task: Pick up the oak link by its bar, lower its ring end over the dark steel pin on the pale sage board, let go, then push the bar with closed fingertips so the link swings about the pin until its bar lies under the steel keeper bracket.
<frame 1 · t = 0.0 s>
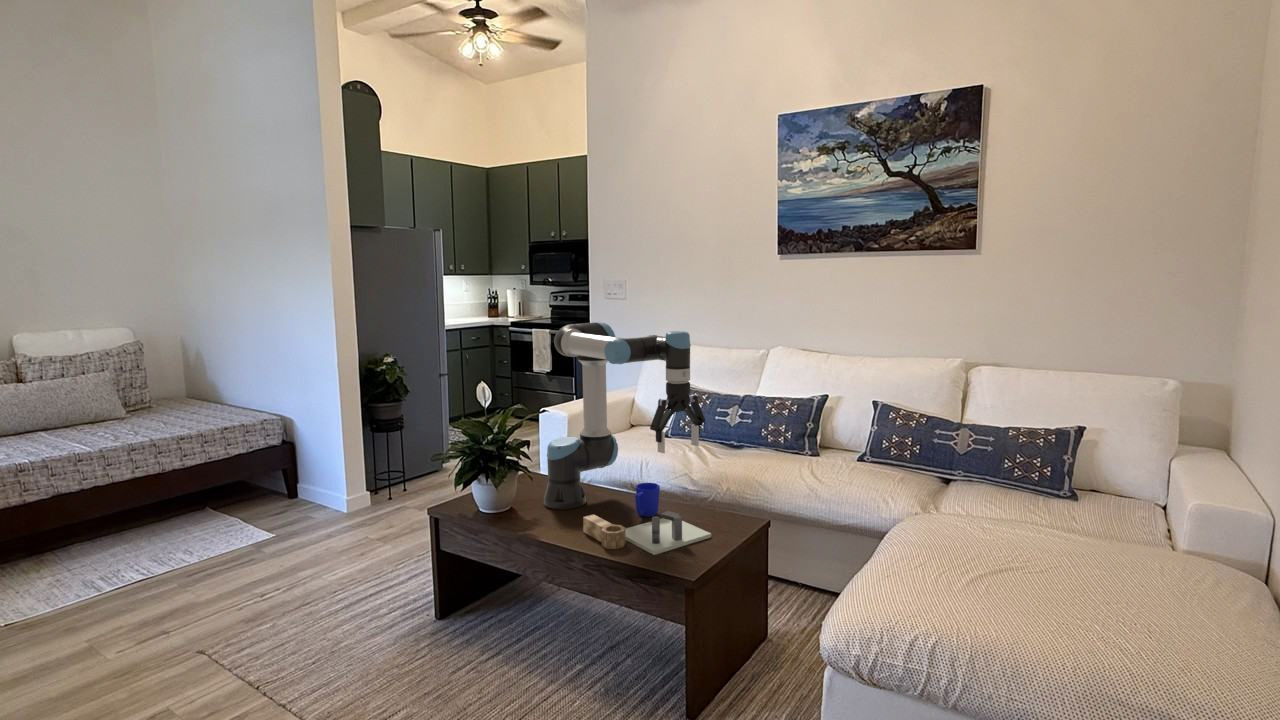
hand: (678, 448, 217), 28 cm above the table, fingers open, 13 cm apart
board: (656, 546, 211), on the table
mug: (645, 516, 238), on the table
link: (597, 535, 220), on the table
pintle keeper: (656, 546, 211), resting on board
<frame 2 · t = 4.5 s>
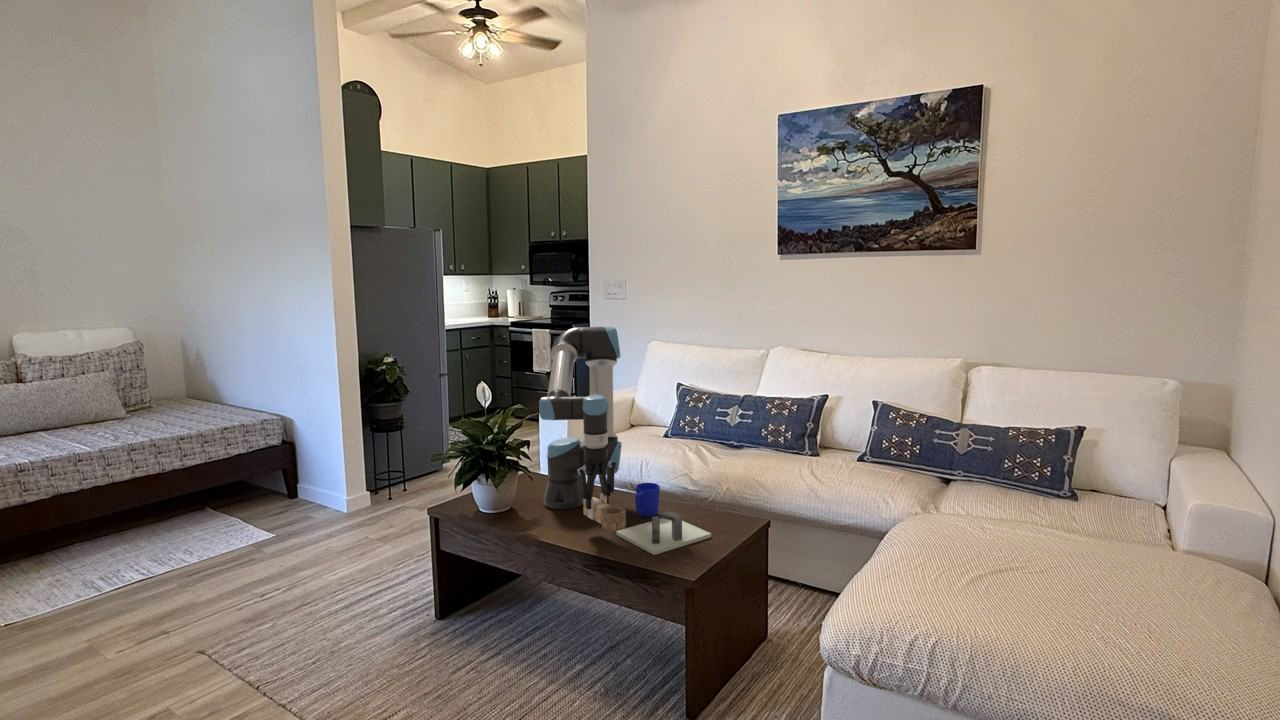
hand: (597, 516, 220), 6 cm above the table, fingers closed on link, 4 cm apart
link: (598, 517, 220), point 6 cm above the table, touching gripper
everything else where it was.
when the fingers open (2 cm above the table, at t = 7.8 s): link stays where it is, resting on board.
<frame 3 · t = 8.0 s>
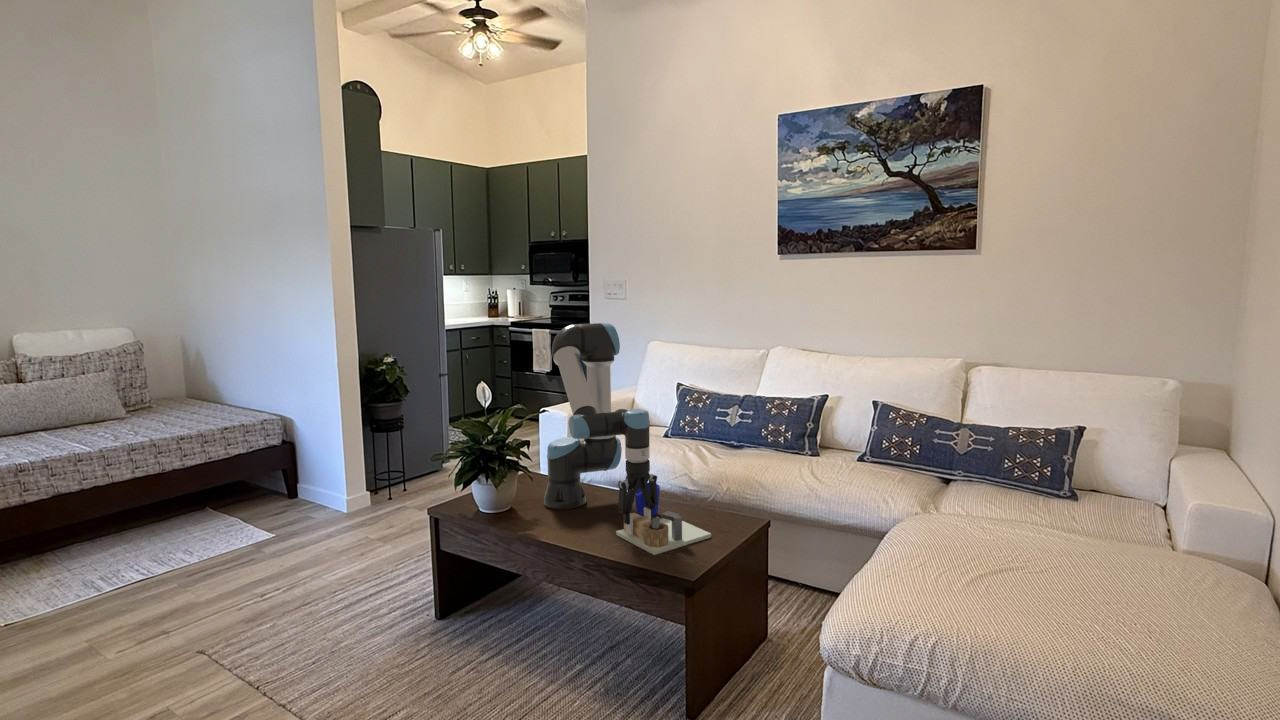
hand: (638, 530, 218), 2 cm above the table, fingers open, 6 cm apart
link: (639, 533, 218), point 1 cm above the table, touching board
everything else where it was.
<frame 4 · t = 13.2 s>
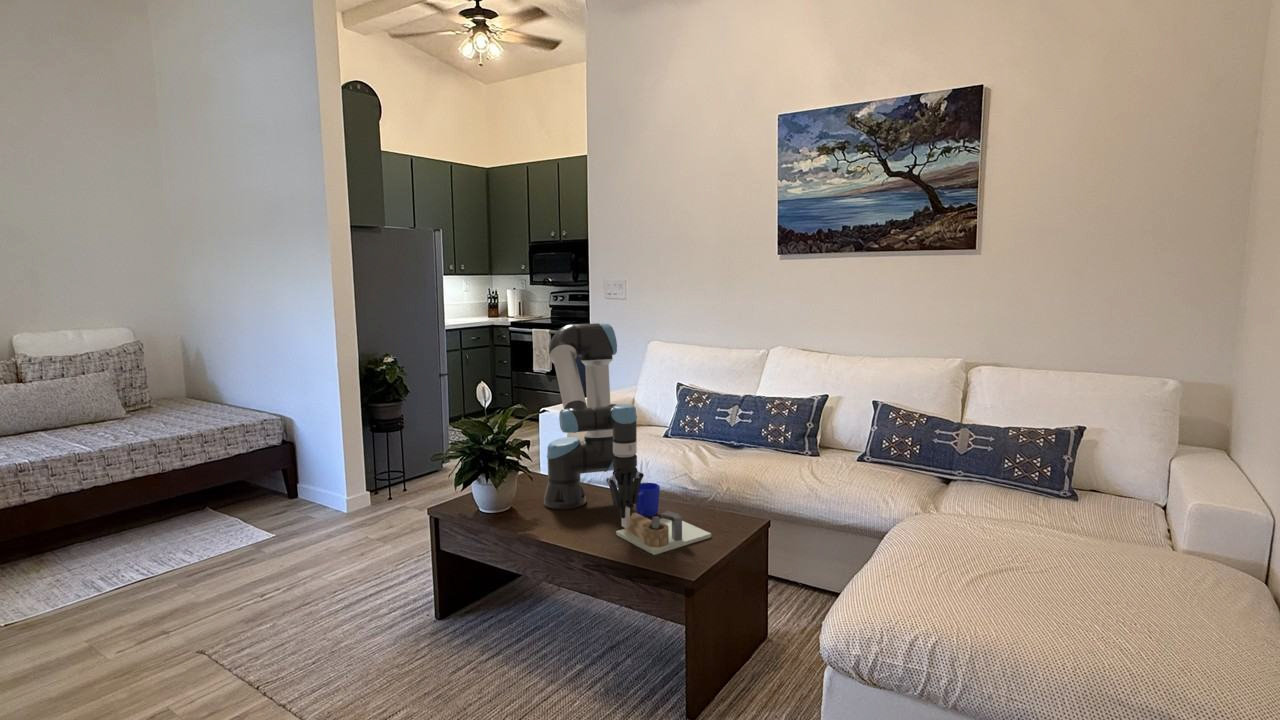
hand: (625, 526, 220), 3 cm above the table, fingers closed
link: (639, 533, 218), point 1 cm above the table, touching board, gripper
everything else where it was.
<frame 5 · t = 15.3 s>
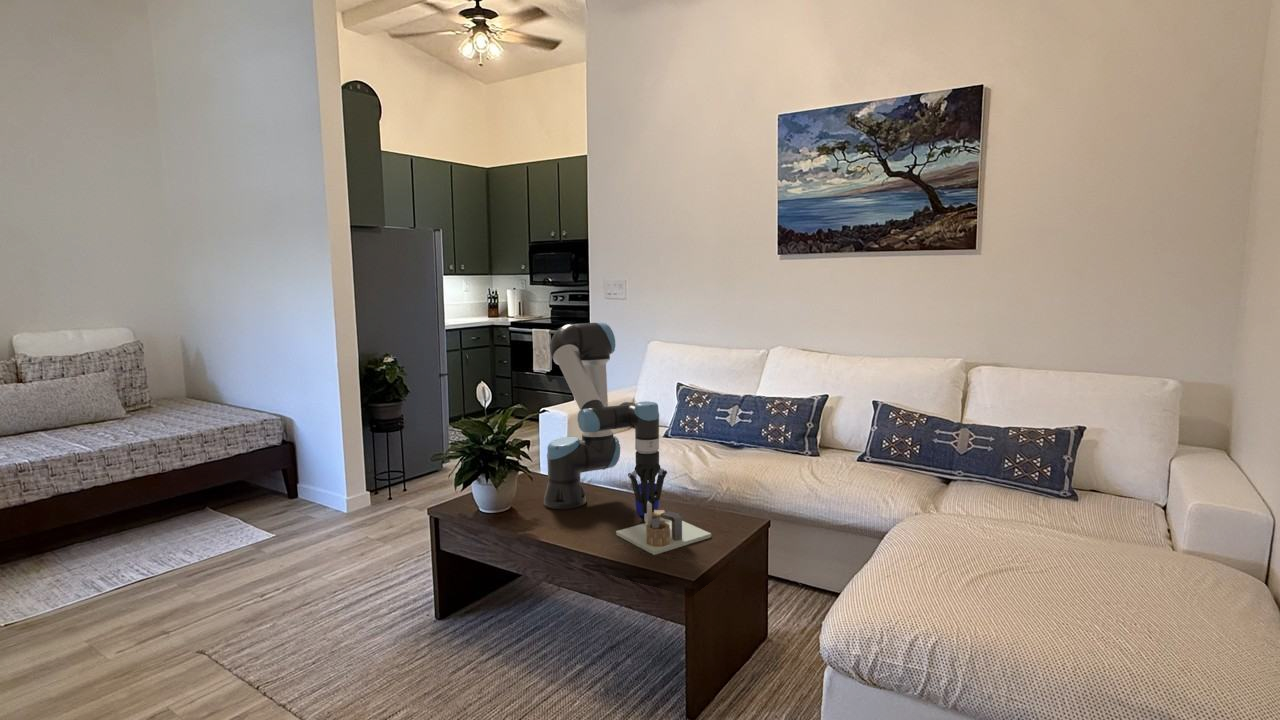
hand: (648, 522, 223), 3 cm above the table, fingers closed
link: (658, 531, 220), point 1 cm above the table, touching board
everything else where it was.
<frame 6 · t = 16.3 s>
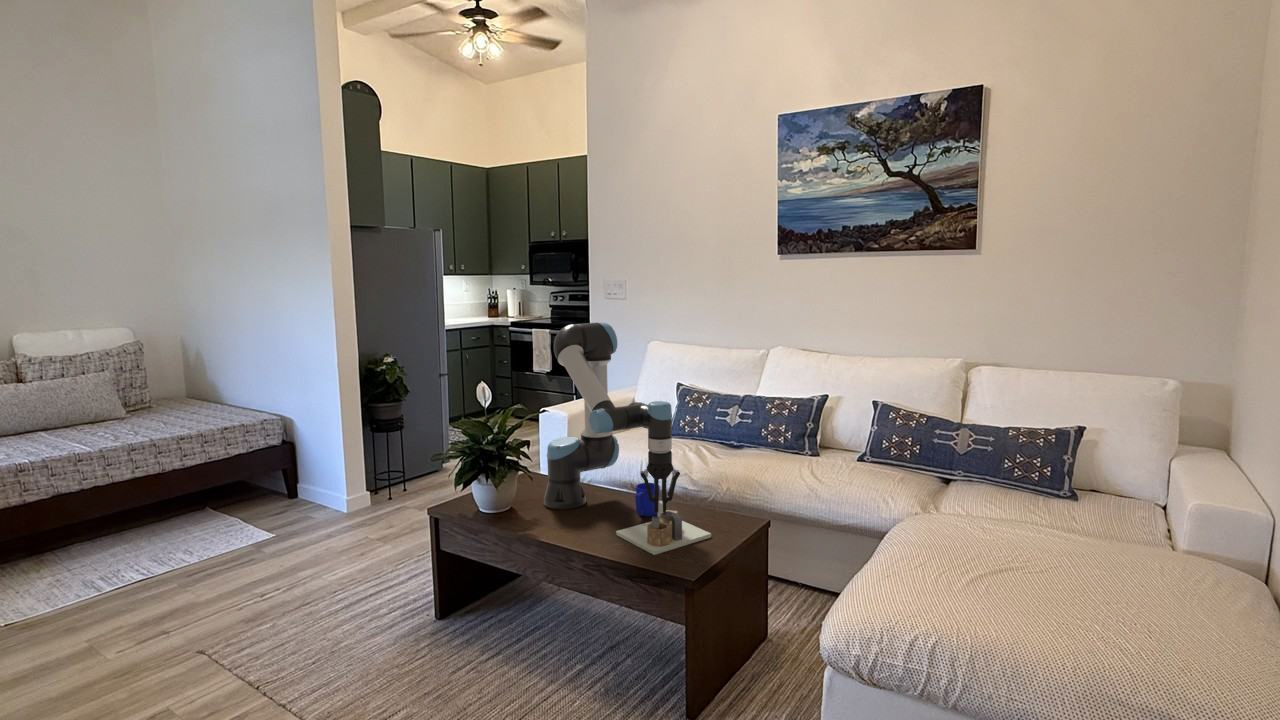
hand: (660, 521, 224), 3 cm above the table, fingers closed
link: (667, 531, 220), point 1 cm above the table, touching board, gripper, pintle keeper
everything else where it was.
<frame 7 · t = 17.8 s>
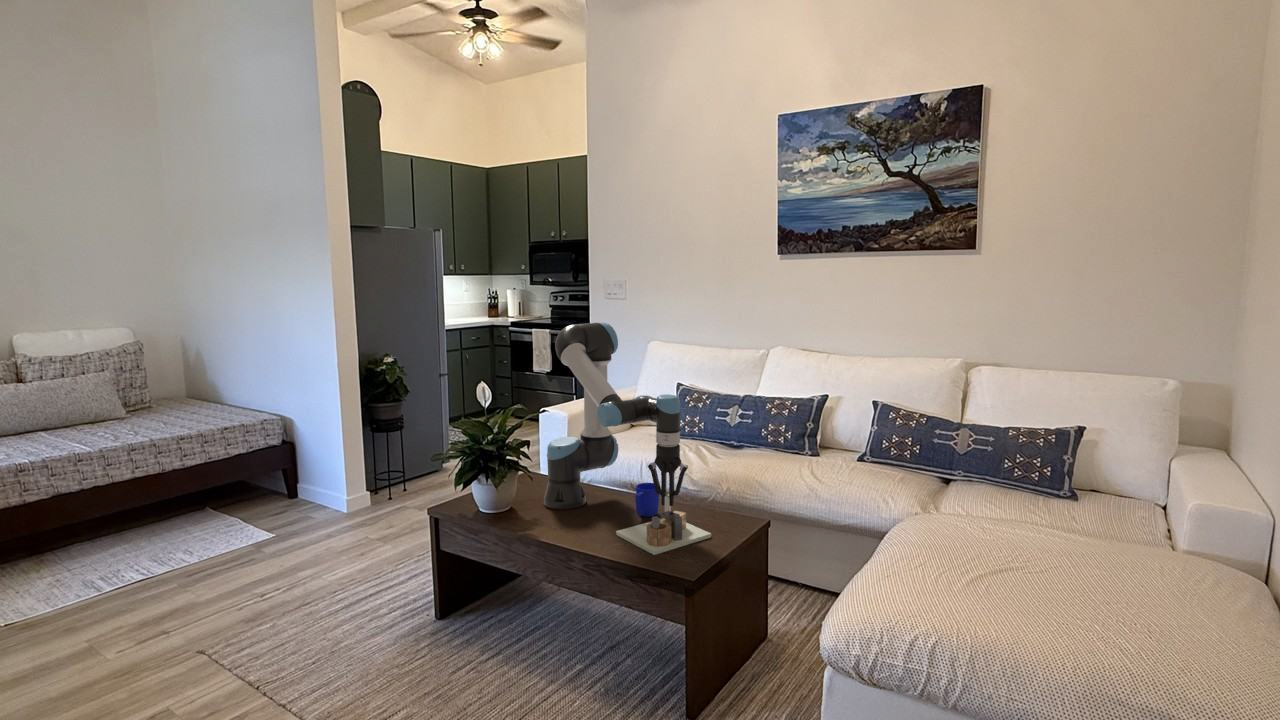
hand: (667, 514, 224), 5 cm above the table, fingers closed
link: (672, 532, 219), point 1 cm above the table, touching board
everything else where it was.
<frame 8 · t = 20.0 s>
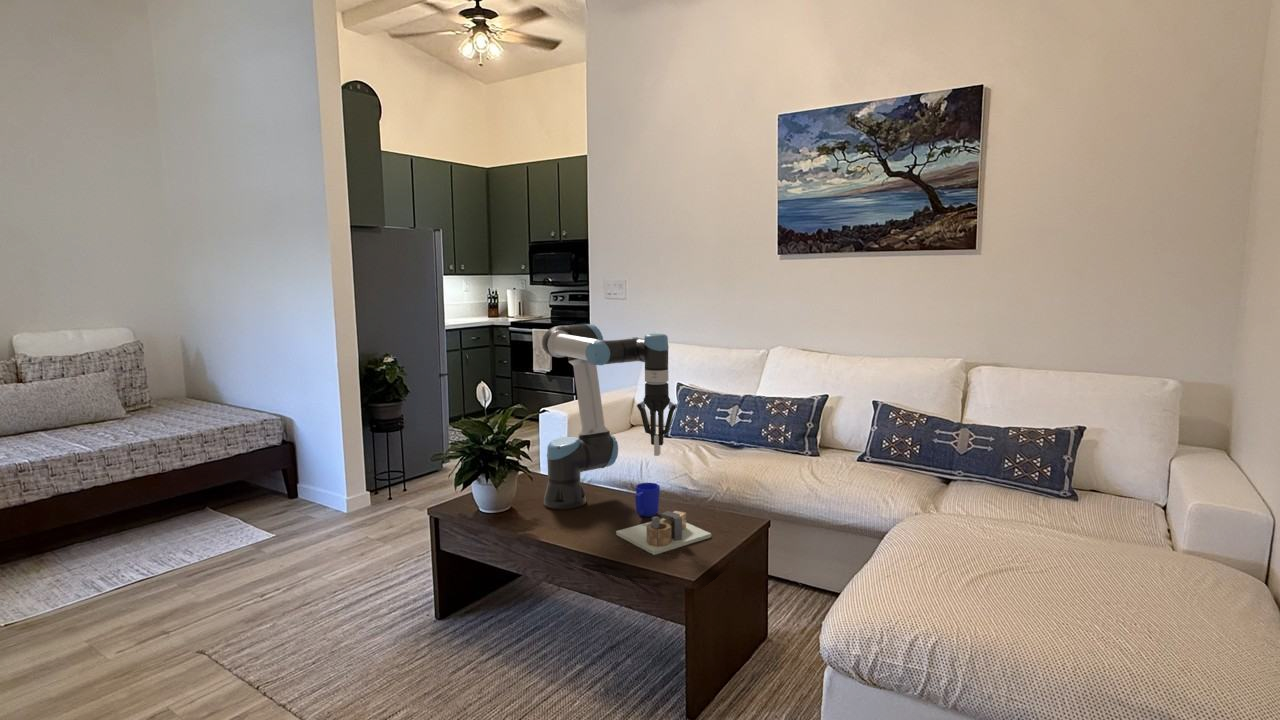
hand: (657, 454, 224), 24 cm above the table, fingers closed
nothing on the table moved.
at the end: link inside the target area on the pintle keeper (0.8 cm from its centre), point 1.2 cm above the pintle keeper's base; link tilted 0°; the gripper is holding nothing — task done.
